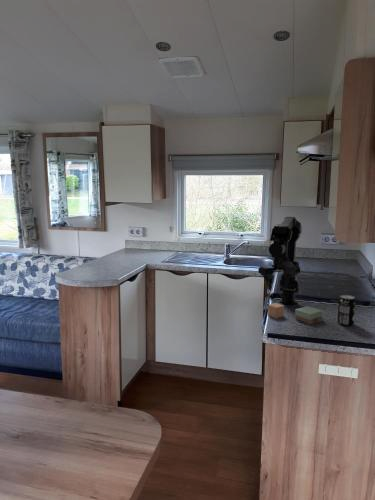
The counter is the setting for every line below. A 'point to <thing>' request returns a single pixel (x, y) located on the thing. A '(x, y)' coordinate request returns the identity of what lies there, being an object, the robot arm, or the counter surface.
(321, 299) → the counter surface
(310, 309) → the sage slab
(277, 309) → the tan cube
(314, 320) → the walnut slab
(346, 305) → the beverage can
